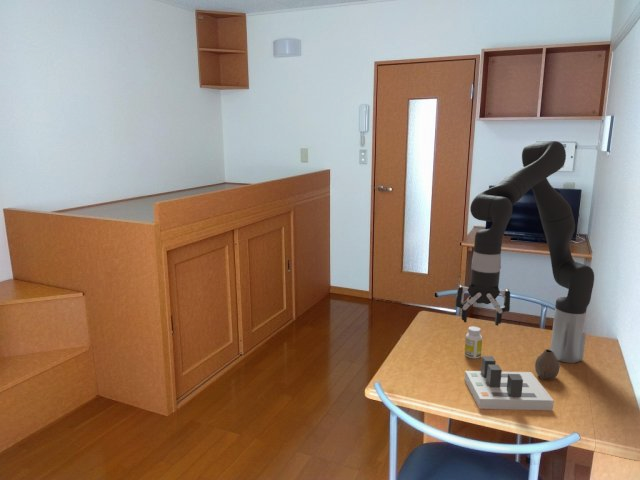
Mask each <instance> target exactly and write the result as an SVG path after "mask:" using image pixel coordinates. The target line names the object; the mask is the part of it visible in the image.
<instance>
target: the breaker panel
mask: <svg viewBox="0 0 640 480" xmlns="http://www.w3.org/2000/svg"><path fill="white" fill-rule="evenodd" d="M496 363H497V361H496V360H495V358H494V356H492V355H481V366H480V367H481V369H480V370H464V371H465V372H464V382H465V383H466V385H467V387H468V389H469V391H470V393H471V396H472V397H473V399H474V402H475V403H476V405H477V407H478V409H480V410H522V411H526V410H527V411H533V410H534V411H553V409H554V402H555V400H554V399H553V397H552V396H551V395H550V394H549V392H548V391H547V390H546V389H545V388H544V386H543V385H542V384H541V383H540V381H539V380H538V379H537V378H536V377H535V374H533V372H531V371H502V370H503V369H502V368H501V367H500V365H499V364H496ZM508 374H519V375H520V376H521V378H522V379H523V386H522V395H521V396H510V395H509V393H508V392H507V380H508Z"/></svg>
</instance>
